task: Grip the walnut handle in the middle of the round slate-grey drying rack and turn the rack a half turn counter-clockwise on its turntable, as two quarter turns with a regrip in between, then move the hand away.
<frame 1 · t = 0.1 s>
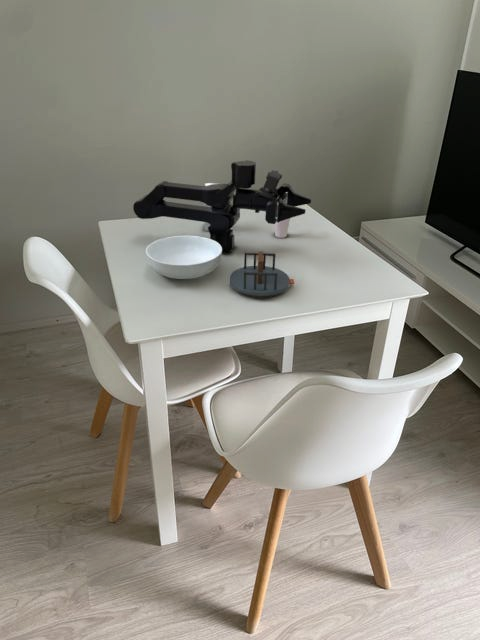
hand: (308, 206, 145), 17 cm above the table, tool horizontal, fingers open, 9 cm apart
syrup box: (213, 228, 175), on the table
smoothie: (280, 236, 170), on the table
drying rack: (262, 269, 136), point 5 cm above the table, hinge at 0.0°
rack base: (259, 286, 139), on the table
serving bowl: (185, 272, 146), on the table
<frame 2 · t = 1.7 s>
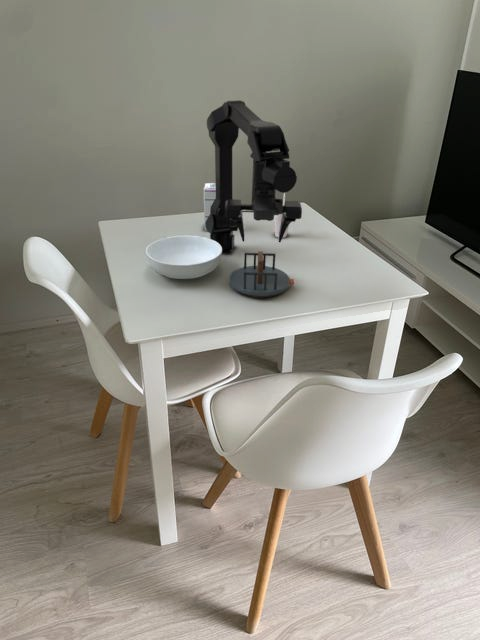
hand: (261, 241, 133), 13 cm above the table, tool pointing down, fingers open, 9 cm apart
nothing on the table moved.
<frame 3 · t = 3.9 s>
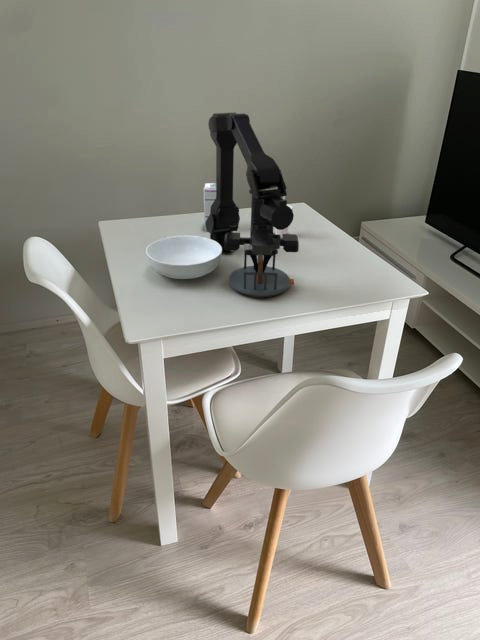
hand: (259, 272, 137), 4 cm above the table, tool pointing down, fingers closed on drying rack
drying rack: (262, 269, 136), point 5 cm above the table, hinge at 0.0°, touching gripper
everything else where it was.
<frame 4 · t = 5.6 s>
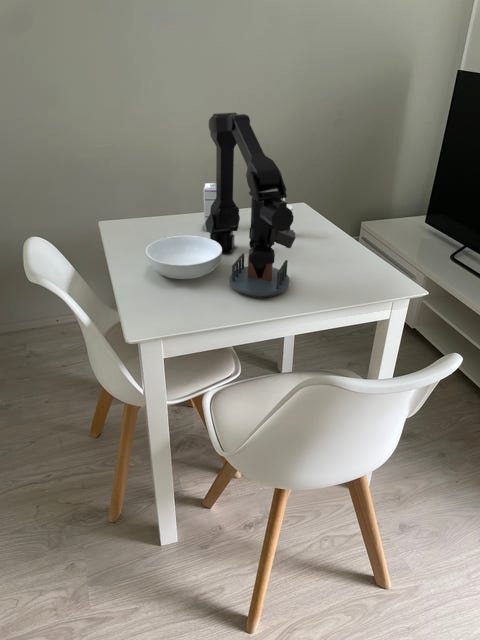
hand: (259, 273, 137), 4 cm above the table, tool pointing down, fingers open, 4 cm apart
drying rack: (260, 268, 137), point 5 cm above the table, hinge at 72.3°
everything else where it was.
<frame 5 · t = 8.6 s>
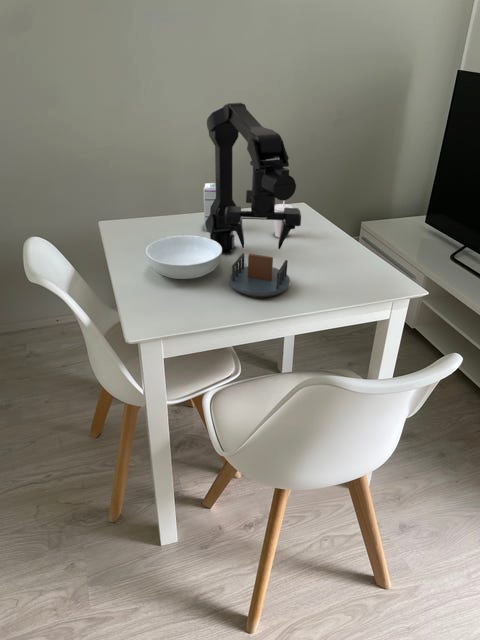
hand: (261, 247, 133), 11 cm above the table, tool pointing down, fingers open, 9 cm apart
nothing on the table moved.
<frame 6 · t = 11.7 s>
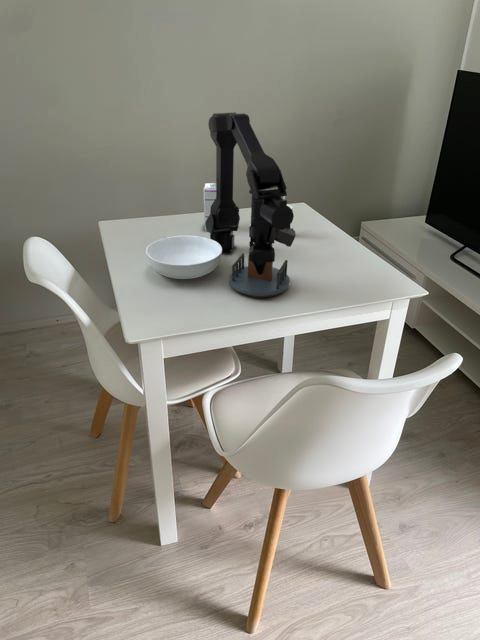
hand: (259, 272, 137), 4 cm above the table, tool pointing down, fingers closed on drying rack, 2 cm apart
drying rack: (260, 268, 137), point 5 cm above the table, hinge at 72.4°, touching gripper
everything else where it was.
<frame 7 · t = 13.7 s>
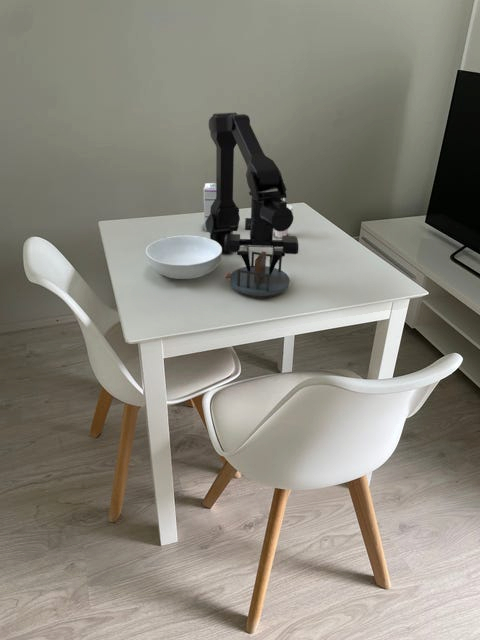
hand: (259, 273, 137), 4 cm above the table, tool pointing down, fingers open, 5 cm apart
drying rack: (257, 268, 137), point 5 cm above the table, hinge at 162.4°
everything else where it was.
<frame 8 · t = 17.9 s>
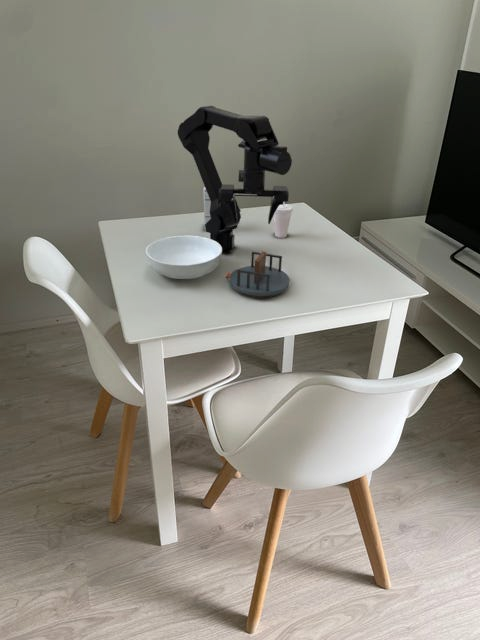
hand: (252, 223, 146), 12 cm above the table, tool pointing down, fingers open, 9 cm apart
nothing on the table moved.
at the end: drying rack at +162° (first picture: +0°); serving bowl moved 0.2 cm from its start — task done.
